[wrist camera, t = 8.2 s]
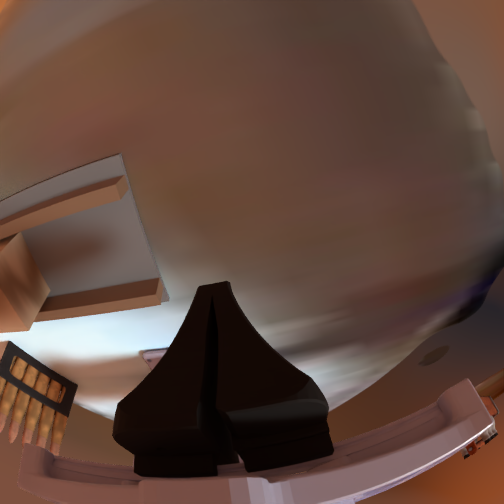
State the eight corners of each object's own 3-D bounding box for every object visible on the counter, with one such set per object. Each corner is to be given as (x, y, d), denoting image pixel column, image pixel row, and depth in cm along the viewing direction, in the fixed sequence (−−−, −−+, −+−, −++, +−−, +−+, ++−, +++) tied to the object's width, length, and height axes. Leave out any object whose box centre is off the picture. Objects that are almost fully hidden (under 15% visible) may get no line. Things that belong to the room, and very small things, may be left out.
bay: (169, 297, 22) (166, 318, 20) (20, 319, 22) (11, 335, 20) (120, 153, 16) (109, 162, 14) (-34, 219, 15) (-48, 232, 13)
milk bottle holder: (475, 394, 63) (498, 435, 46) (490, 395, 76) (508, 426, 60) (429, 430, 70) (447, 470, 54) (455, 424, 84) (470, 455, 68)
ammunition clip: (7, 346, 24) (-24, 423, 14) (9, 340, 23) (-24, 420, 13) (73, 389, 29) (57, 467, 19) (78, 385, 28) (61, 467, 18)
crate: (50, 290, 20) (28, 330, 16) (11, 297, 20) (-11, 333, 16) (20, 230, 17) (-12, 265, 13) (-18, 245, 17) (-46, 277, 12)
